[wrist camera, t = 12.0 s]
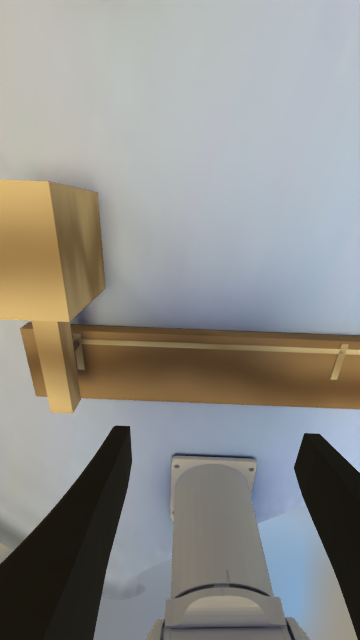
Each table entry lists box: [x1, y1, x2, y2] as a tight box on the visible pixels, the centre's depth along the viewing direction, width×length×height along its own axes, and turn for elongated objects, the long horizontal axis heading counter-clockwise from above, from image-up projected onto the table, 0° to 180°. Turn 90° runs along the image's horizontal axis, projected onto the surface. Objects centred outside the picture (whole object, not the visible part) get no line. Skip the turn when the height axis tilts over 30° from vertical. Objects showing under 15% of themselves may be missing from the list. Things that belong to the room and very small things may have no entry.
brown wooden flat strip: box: [20, 323, 360, 409], centre depth 19 cm, size 6×28×1 cm, turn 88°
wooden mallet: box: [0, 180, 105, 413], centre depth 15 cm, size 13×4×6 cm, turn 178°
